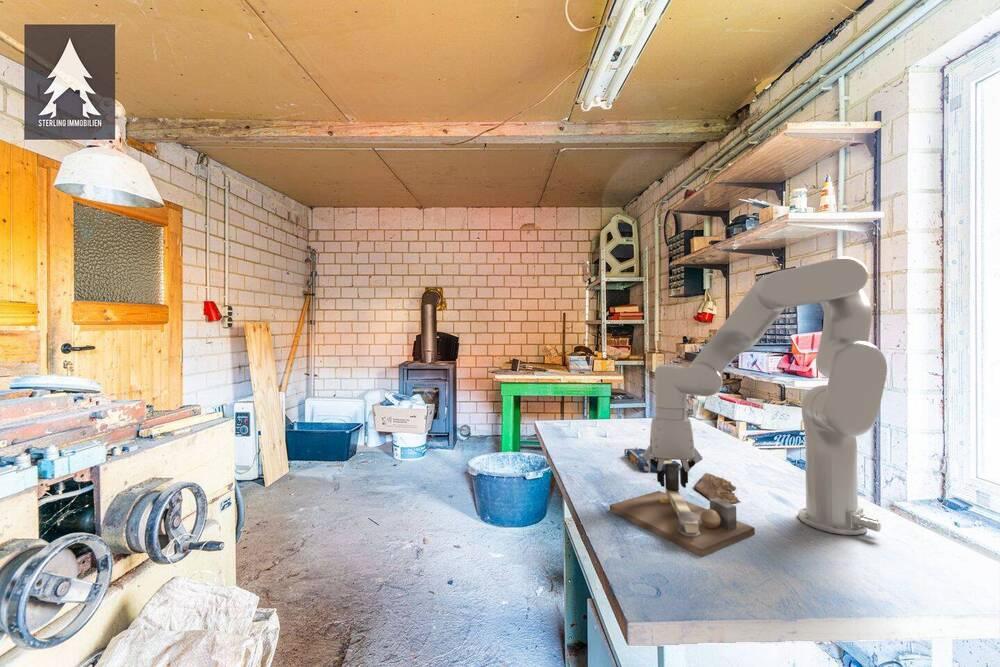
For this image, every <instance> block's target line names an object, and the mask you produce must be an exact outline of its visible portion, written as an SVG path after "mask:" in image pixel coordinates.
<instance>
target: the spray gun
mask: <svg viewBox="0 0 1000 667" xmlns="http://www.w3.org/2000/svg"><path fill="white" fill-rule="evenodd" d="M646 449H647V448H646ZM646 449H645V448H638V446H636V447H633V448H624V451H623V455H624V456H625V457H626V456H627V457H626V458H628V459H629V460H630V461H631V460H632V461H633V462H634V463H635V464H636V465H637V466H638V467H637V466H636V465H635V464H634V463H633V462H632V461H631V462H632V463H633V464H634V465H635V466H636V467H637V468H638V469H639V470H640V471H641V470H643V471H642V472H647V471H648V472H647V473H649V472H650V473H652V472H651V471H655V472H654V473H657V468H655V467H654V466H653V465H652V464H651V463H650V462H649V461H647V460H646V459H645V458H643V453H644V452H645V451H646ZM650 456H651V457H652V458H654V459H655V460H657V458H655V457H653V454H652V453H651V454H650ZM667 463H673V464H677V465H678V466H679V471H680V469H681V467H682V464H681V463H679V462H678V461H676V460H671V459H664V463H663V470H664V474H665V464H667Z"/></svg>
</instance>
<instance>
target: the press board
mask: <svg viewBox="0 0 1000 667" xmlns="http://www.w3.org/2000/svg"><path fill="white" fill-rule="evenodd" d="M684 501H685V503H686V504H687V506H688V507H689V509H690V511H691V512H694V513H696V514H698V515H699V533H686V532H684V531H682V530H680V529H679V518H678V516H677V514H676V512H675V510H674V508H673V506H672V504H671V502H670V500H669V499H668V497H667V495H666V492H663V491H660V490H657V491H654V492H650V493H645V494H643V495H639V496H636V497H633V498H629V499H626V500H625V499H624V500H622V501H618V502H614V503H612V504H609V512H611V513H613V514H615V515H617V516H618V517H621V518H623V519H625V520H627V521H629V522H631V523H633V524H634V525H637V526H639V527H641V528H644V529H646V530H647V531H649V532H651V533H653V534H655V535H657V536H659V537H660V538H661V537H662V538H663V539H666V540H668V541H669V542H672V543H674V544H675V545H678V546H680V547H681V548H684V549H686V550H688V551H690V552H692V553H694V554H695V555H698V556H699V557H702V558H703V557H705V556H707V555H709V554H712V553H714V552H716V551H718V550H721V549H723V548H726V547H728V546H730V545H731V546H732V545H733V544H735V543H738V542H740V541H742V540H745V539H747V538H749V537H752V536H754V535H755V534H756V533H755V531H756V528H755V527H754V526H752V525H750V524H746V523H743V522H741V521H738V520H737V505H734V504H730V503H728V502H726V501H724V500H721V499H719V498H715V499H709V508H705V507H702V506H699V505H697V504H694V503H692V502H689V501H687V500H685V499H684Z"/></svg>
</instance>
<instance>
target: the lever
mask: <svg viewBox="0 0 1000 667" xmlns="http://www.w3.org/2000/svg"><path fill="white" fill-rule="evenodd" d="M664 481H665V486H664V488H665V493H666V495H667V497H668V499H669V500H670V502H671V504H672V506H673V508H674V510H675V512H676V514H677V516H678V518H679V529H680V530H682V531H684V532H686V533H699V515H698V514H696V513H694V512H691V511H690V509H689V507H688V506H687V504H686V503H685V501H686V500H685V499H684V497H683V496H682V494H681V492H680V491H679V490H680V470H679V466H678V465H677V464H673V463H667V464H665V473H664ZM684 500H685V501H684Z"/></svg>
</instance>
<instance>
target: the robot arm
mask: <svg viewBox="0 0 1000 667" xmlns="http://www.w3.org/2000/svg"><path fill="white" fill-rule="evenodd" d="M868 280H869V272H868V269H867V267H866V265H865V264H864V263H862V261H861V260H858V259H856V258H854V257H850V256H840V257H835V258H829V259H826V260H822V261H818V262H813V263H810V264H805V265H801V266H797V267H791V268H787V269H781V270H777V271H774V272H772V273H771V272H770V273H769V274H766V275H764V276H762V277H760V278H759V279H758V280H757V281H756V282H755V283H754V284H753V285H752V287H751V288H750V289H749V290H748V292H747V293H746V294H745V296H744V297H743V298H742V299H741V301H740V302H739V303H738V305H737V306H736V307H735V308H734V310H733V311H732V312H731V314H730V315H729V316H728V317H727V319H726V320H725V321H724V322H723V324H722V325H721V326H720V327H719V328H718V330H717V331H716V332H715V333H714V335H713V336H711V338H710V339H709V340H708V342H707V343H706V344H705V345H704V346H703V348H701V350H700V351H699V352H698V353H697V355H696V356H695V358H694V359H693V360H692V362H691V363H690V364H689V366H687V367H686V366H684V365H680V364H661V365H658V366H656V368H655V370H654V382H655V383H654V384H655V385H654V387H655V389H654V390H655V392H654V393H655V401H654V402H655V416H654V417H652V418H651V424H650V435H649V437H650V438H649V445H648V447H647V448H646V451H645V452H644V453H643V458H645V459H646V460H647V461H649V462H650V463H651V464H652V465H653V466H654V467H655V468H657V472H656V480H657V483H659V485H660V486H661V488H662V487H664V488H665V473H664V470H663V463H664V459H671V460H672V461H676V460H677V461H680V465H681V469H680V470H679V485H681V487H682V488H683V489H685V488H686V487H687V484H688V483H689V472H690V471H691V470H692V468H693V467H694V466H695V465H696V464H698V463H699V462H701V461H703V456H702V455H701V454H700V453H699V451H698V450H697V449H696V447H695V443H694V442H695V441H694V435H693V434H694V433H693V432H694V431H693V427H692V426H693V425H692V423H691V420H690V418H689V416H693V415H694V414H695V413H694V409H690V408H688V395H691V396H692V395H693V396H699V397H712V396H714V395H716V394H718V393H719V392H720V391H721V390H722V387H723V383H724V380H723V379H724V378H723V377H722V374H723V372H725V370H726V369H727V367H728V366H729V365H730V364H731V363H732V362H733V361H734V360H735V359H736V358H737V357H739V356H740V355H741V354H743V353H745V352H746V351H748V350H750V349H751V348H753V347H754V346H755V345H756V344H758V342H760V340H761V338H763V336H764V335H765V333H767V331H768V330H769V329H770V327H771V326H772V325H773V323H774V322H775V321H776V320H777V319H778V317H779V316H780V315H781V314H782V312H784V310H785V309H790V308H795V307H800V306H805V305H806V306H807V305H812V304H816V303H819V304H820V305H821V308H822V310H823V317H824V318H823V322H822V323H823V325H822V331H821V336H820V340H819V344H818V348H817V353H816V358H815V366H816V369H817V370H818V372H819V373H820V374H821V375H822V376H823V377H825V378H827V379H828V381H827V384H825V385H823V384H822V385H817V386H814V387H812V388H810V389H809V390H808V391H807V392H806V393H805V395H804V396H803V399H802V401H801V415H802V421H803V422H802V423H803V428H804V439H805V441H804V442H805V443H804V444H805V446H804V447H805V451H804V452H805V455H804V456H805V457H804V459H805V461H804V462H805V507H803V508H800V509H799V511H798V514H797V516H798V519H799V520H800V521H801V522H803V523H804V524H806V525H808V526H809V527H811V528H813V529H814V528H815V529H817V530H820V531H823V532H828V533H832V534H836V535H837V534H838V535H844V536H845V535H846V536H847V535H848V536H858V535H862V534H865V533H867V530H871V531H874V532H877V533H879V532H880V531H881V530H882V529H881V527H882V525H881V523H880V522H879V519H878V518H876V517H875V518H874V517H871V516H868V515H867V516H866V514H864V508H863V507H859V506H858V504H859V502H858V501H859V498H858V495H859V494H858V443H857V442H858V441H857V438H856V437H859V436H862V435H864V434H866V433H867V432H869V431H870V430H871V429H872V428H873V427H874V425H875V423H876V421H877V419H878V415H879V411H880V408H881V403H882V402H881V401H882V398H883V394H884V391H885V390H884V389H885V385H886V379H887V375H888V365H887V364H888V363H887V360H886V357H885V354H884V353H883V352H882V351H881V349H879V347H878V346H876V345H874V344H872V343H870V342H869V341H870V334H871V327H872V322H873V321H872V320H873V312H872V311H873V310H872V305H871V303H870V301H869V299H868V297H867V295H866V294H865V292H864V291H863V288H864V287H865V286H866V284H867V282H868ZM651 453H652V454H653V457H655V458H657V460H655V459H654V458H652V457H651V456H650V454H651Z"/></svg>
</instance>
